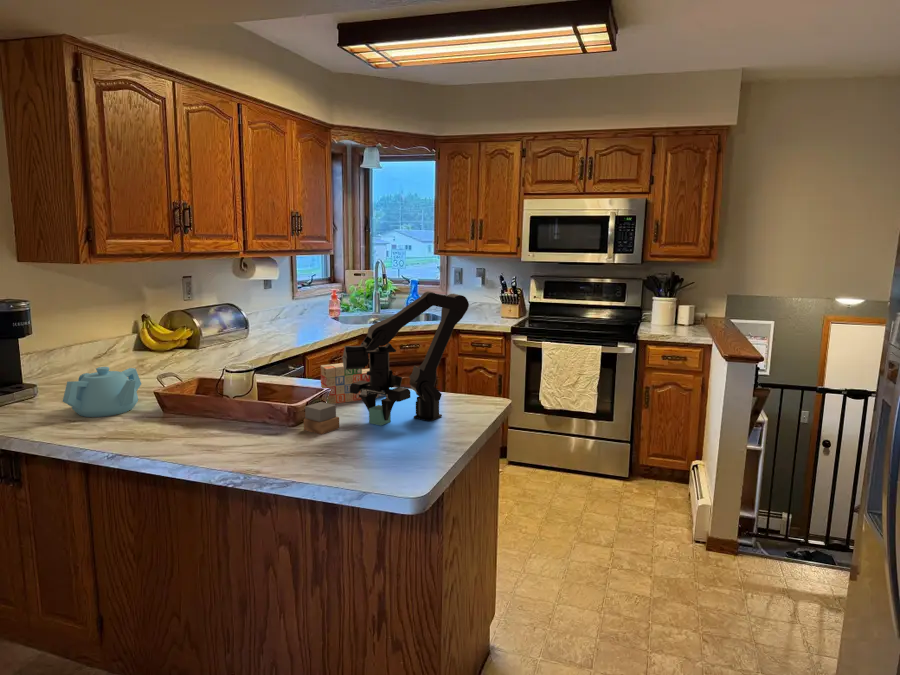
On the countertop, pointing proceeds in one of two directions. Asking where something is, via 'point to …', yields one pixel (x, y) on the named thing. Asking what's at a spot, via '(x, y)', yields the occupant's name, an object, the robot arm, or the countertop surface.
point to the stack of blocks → (342, 382)
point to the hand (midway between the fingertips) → (379, 418)
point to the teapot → (103, 392)
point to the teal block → (377, 416)
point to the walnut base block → (321, 425)
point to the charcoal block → (320, 411)
